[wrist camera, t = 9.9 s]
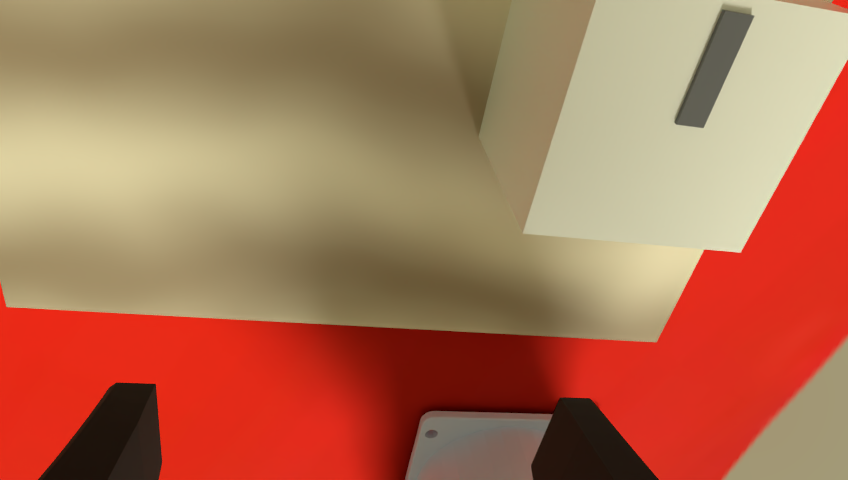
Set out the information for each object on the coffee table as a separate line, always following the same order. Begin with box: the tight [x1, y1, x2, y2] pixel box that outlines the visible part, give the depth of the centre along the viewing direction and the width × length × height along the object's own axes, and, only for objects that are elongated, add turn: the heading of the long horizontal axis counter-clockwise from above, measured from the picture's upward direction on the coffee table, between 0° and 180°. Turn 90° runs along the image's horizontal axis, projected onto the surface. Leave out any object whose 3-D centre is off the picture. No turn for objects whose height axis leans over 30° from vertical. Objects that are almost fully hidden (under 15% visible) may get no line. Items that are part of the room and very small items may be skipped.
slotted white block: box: [479, 0, 848, 252], centre depth 14 cm, size 5×5×5 cm
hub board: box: [0, 0, 833, 342], centre depth 16 cm, size 16×22×4 cm
